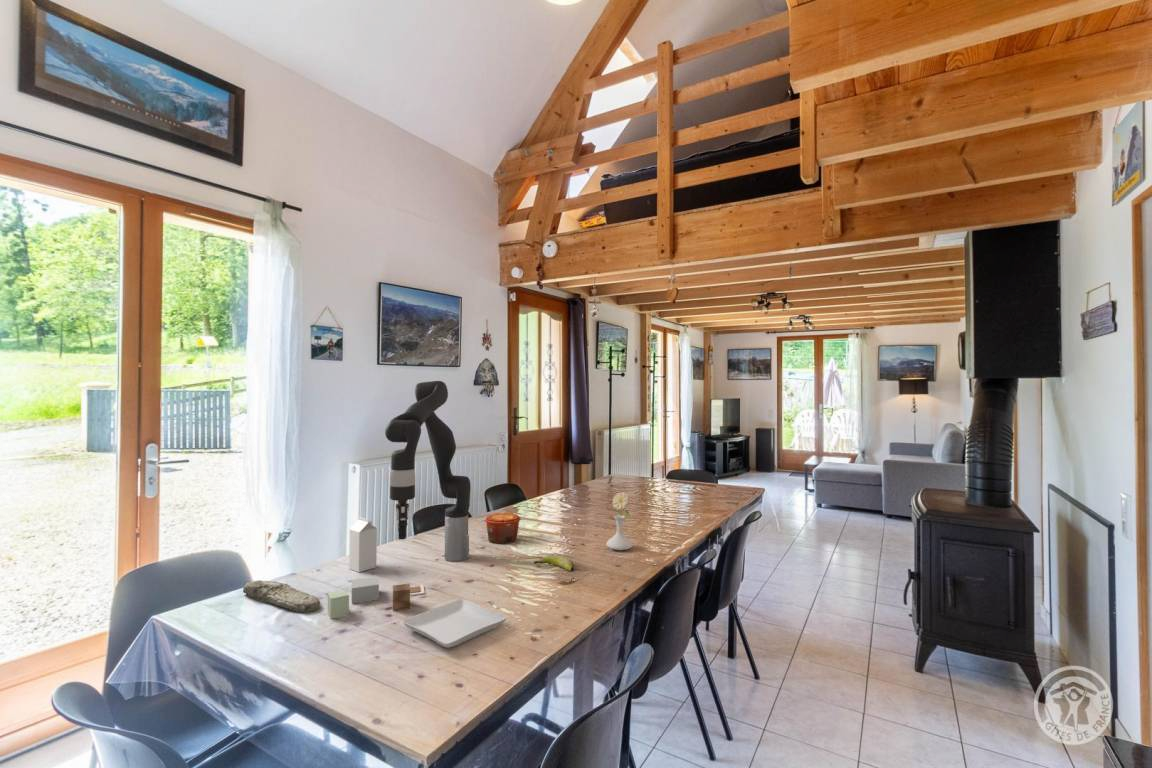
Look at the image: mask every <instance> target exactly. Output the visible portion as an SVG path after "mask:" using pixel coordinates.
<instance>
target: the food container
mask: <svg viewBox="0 0 1152 768" xmlns="http://www.w3.org/2000/svg"><path fill="white" fill-rule="evenodd" d="M520 521H521V517H520V516H519V515H518V514H516V513H511V512H505V513H500V512H499V513H493V514H490V515H487V516H486V518H485V523H486V531H487V540H488V542H489V543H492V544H495V543H496V545H505V544H506V543H508V544H512V543H515V542H516V541H517V539H518V531H519V525H520ZM514 541H515V542H514ZM511 542H512V543H511Z"/></svg>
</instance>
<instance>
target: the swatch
mask: <svg viewBox="0 0 1152 768" xmlns="http://www.w3.org/2000/svg"><path fill="white" fill-rule="evenodd" d="M418 595H425V587H424V584H420V585H413V586H410V597H411V596H413V597H414V596H418Z"/></svg>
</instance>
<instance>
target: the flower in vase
mask: <svg viewBox="0 0 1152 768" xmlns="http://www.w3.org/2000/svg"><path fill="white" fill-rule="evenodd" d="M629 497H630V496H629V495H628V494H627V493H626V492H624V491H621V492H618V493H616V495H614V496H613V498H612V507H613V508H614V510H615V511H616V512H617V513H619V514H617V515H616V514H615V515H613V518H614V520H615V523H616V532H615V534H614V535H613V536H612V537H611V538H609V540H607V541H606V544H605V545H606V547H607V548H609V549H610V550H611V549H612V550H615V551H627V550H630V549H632V547H633V543H632V541H631V540H630V539H629V538H628V537H627V536H625V535H624V534H623V533H624V532H623V523H624V519H625V518H626V517H629V516H630V513H629V511H628V509H625V508H626V507H627V506H628V503H629ZM620 510H623V511H622V512H621V511H620Z"/></svg>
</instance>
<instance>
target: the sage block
mask: <svg viewBox="0 0 1152 768" xmlns="http://www.w3.org/2000/svg"><path fill="white" fill-rule="evenodd" d="M349 613H350V594H349V592H348V591H347V589H342V590H338V591H337V590H336V591H332V592H331V591H330V592H328V593H327V615H328V617H329V619H330V620H333V619H336V618H341V617H345V616H349V615H350V614H349Z"/></svg>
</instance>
